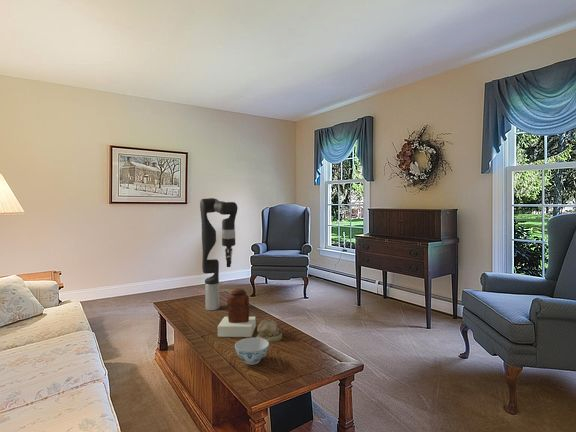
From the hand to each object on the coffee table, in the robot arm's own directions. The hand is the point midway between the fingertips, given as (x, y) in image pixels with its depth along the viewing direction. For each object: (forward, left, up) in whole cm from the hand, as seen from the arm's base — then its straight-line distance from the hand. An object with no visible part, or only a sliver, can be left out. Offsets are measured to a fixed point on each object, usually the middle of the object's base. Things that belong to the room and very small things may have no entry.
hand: (229, 265), depth 192 cm
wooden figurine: (+8, +5, -30) cm, 31 cm away
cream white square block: (+8, +4, -36) cm, 37 cm away
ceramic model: (+19, +21, -36) cm, 46 cm away
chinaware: (+45, +13, -35) cm, 59 cm away
